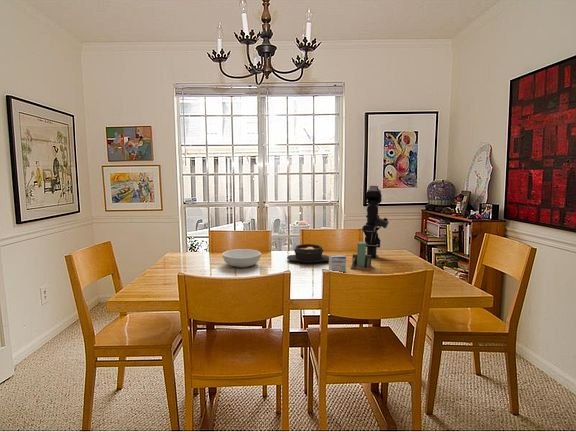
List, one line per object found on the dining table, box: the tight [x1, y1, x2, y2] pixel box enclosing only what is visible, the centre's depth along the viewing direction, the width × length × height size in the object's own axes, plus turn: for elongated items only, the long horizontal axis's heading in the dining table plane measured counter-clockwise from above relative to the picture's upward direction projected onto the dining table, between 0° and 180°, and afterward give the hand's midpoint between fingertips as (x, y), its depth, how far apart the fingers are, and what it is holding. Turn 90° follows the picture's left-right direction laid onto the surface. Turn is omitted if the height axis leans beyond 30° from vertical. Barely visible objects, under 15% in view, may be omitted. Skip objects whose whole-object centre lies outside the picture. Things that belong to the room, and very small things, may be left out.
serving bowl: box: [222, 248, 262, 268], centre depth 195 cm, size 21×21×7 cm
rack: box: [350, 253, 372, 271], centre depth 192 cm, size 10×10×6 cm
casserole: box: [286, 243, 330, 264], centre depth 205 cm, size 25×19×8 cm
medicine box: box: [328, 254, 347, 272], centre depth 182 cm, size 8×4×9 cm, turn 101°
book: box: [356, 241, 367, 267], centre depth 191 cm, size 5×4×12 cm
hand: (371, 241), depth 195 cm, fingers open, 9 cm apart
